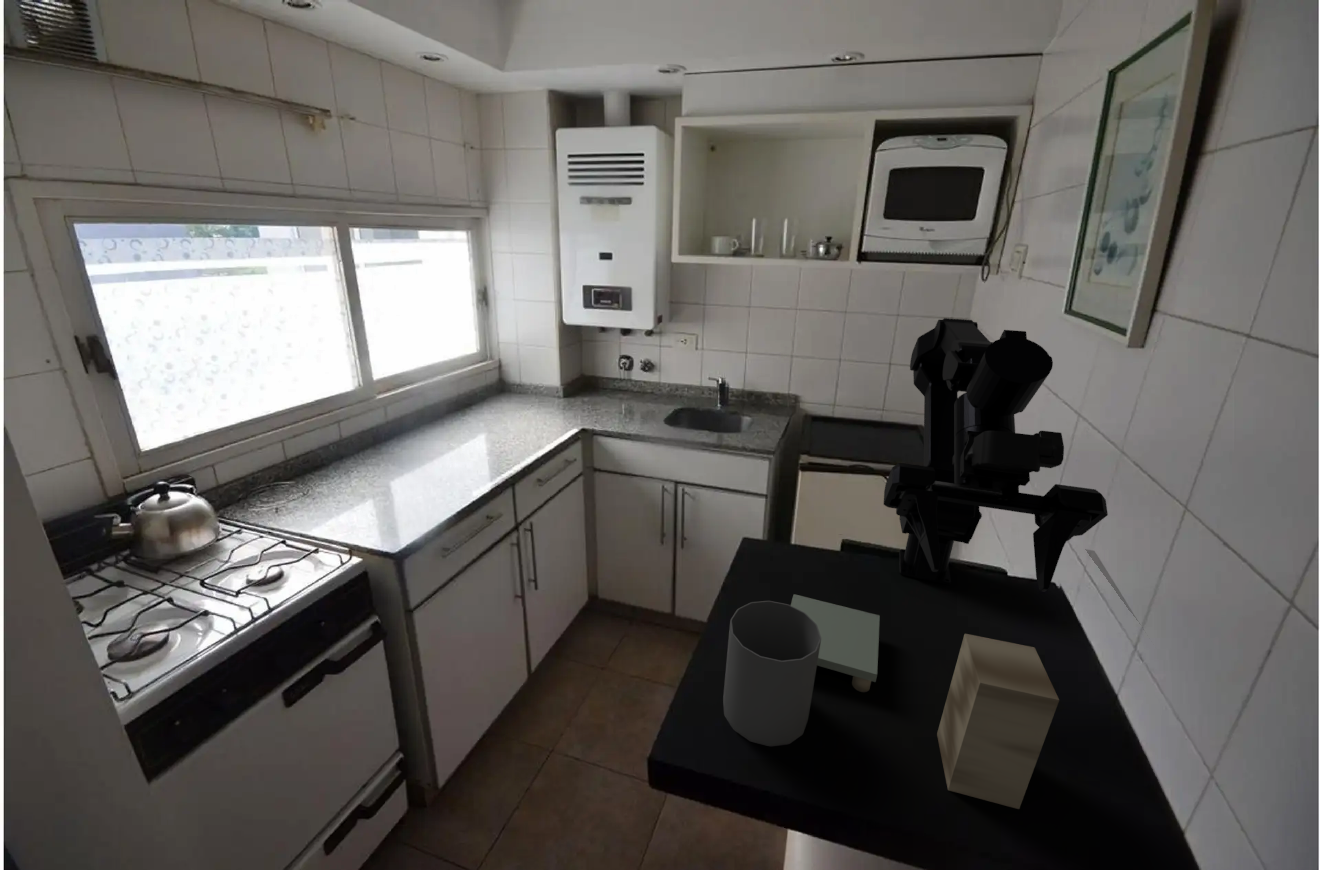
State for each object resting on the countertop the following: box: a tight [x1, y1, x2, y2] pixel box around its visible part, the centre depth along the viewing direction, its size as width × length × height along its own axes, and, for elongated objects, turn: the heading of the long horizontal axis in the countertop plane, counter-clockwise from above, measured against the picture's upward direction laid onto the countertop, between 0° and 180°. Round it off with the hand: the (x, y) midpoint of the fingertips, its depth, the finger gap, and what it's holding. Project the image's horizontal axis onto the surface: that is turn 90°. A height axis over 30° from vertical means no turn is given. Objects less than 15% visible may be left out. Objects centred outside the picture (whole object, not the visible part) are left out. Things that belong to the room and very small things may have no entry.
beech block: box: [936, 633, 1060, 810], centre depth 48 cm, size 6×6×12 cm
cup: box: [722, 600, 821, 747], centre depth 54 cm, size 8×8×10 cm
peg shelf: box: [790, 593, 880, 693], centre depth 63 cm, size 10×10×3 cm
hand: (988, 580), depth 53 cm, fingers open, 9 cm apart
